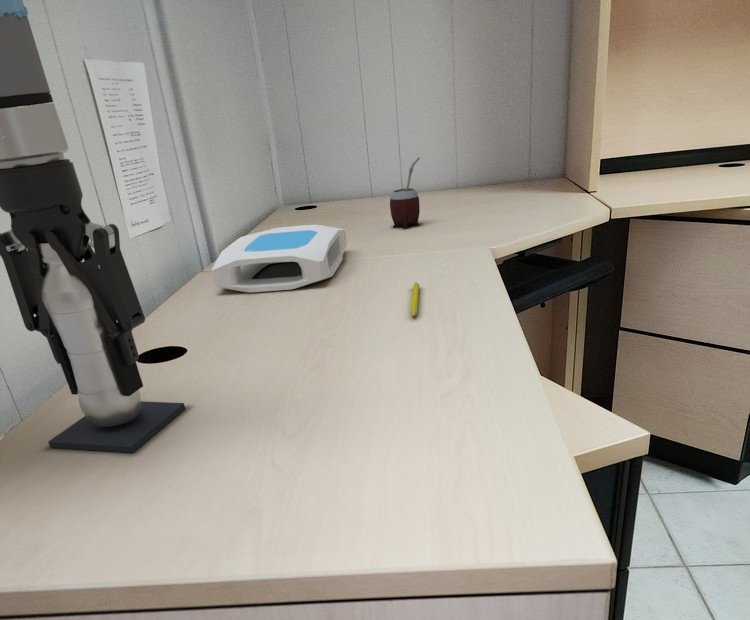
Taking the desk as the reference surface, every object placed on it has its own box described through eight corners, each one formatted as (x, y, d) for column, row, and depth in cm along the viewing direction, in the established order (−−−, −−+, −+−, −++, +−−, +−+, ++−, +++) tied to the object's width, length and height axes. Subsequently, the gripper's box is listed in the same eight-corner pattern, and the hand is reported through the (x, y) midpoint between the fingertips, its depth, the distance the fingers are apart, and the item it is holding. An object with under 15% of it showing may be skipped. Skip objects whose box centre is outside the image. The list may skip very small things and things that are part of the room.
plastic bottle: (113, 407, 80) (54, 233, 69) (158, 411, 77) (104, 231, 67) (75, 431, 75) (5, 247, 64) (122, 436, 72) (57, 246, 62)
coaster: (50, 447, 74) (47, 441, 73) (109, 405, 83) (107, 399, 82) (133, 453, 71) (130, 446, 70) (185, 408, 79) (184, 402, 79)
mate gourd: (392, 224, 164) (387, 157, 155) (424, 221, 162) (420, 153, 154) (390, 230, 157) (384, 160, 149) (423, 227, 156) (419, 157, 148)
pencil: (413, 288, 113) (413, 282, 112) (419, 288, 113) (418, 282, 112) (410, 319, 99) (409, 312, 98) (417, 318, 99) (416, 312, 98)
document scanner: (348, 251, 143) (344, 221, 139) (326, 287, 119) (321, 252, 116) (254, 259, 146) (248, 229, 142) (215, 295, 123) (207, 261, 119)
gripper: (-82, 174, 62) (16, 402, 74) (88, 158, 56) (162, 407, 68) (-21, 163, 67) (60, 375, 80) (138, 148, 62) (198, 378, 74)
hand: (107, 390), depth 74 cm, fingers closed on plastic bottle, 6 cm apart
